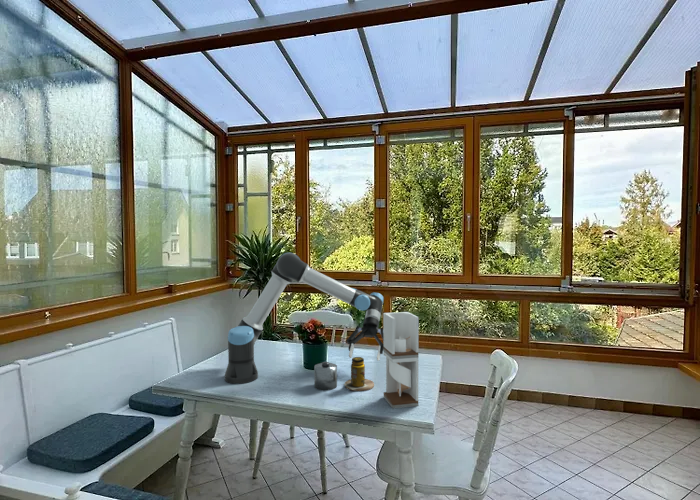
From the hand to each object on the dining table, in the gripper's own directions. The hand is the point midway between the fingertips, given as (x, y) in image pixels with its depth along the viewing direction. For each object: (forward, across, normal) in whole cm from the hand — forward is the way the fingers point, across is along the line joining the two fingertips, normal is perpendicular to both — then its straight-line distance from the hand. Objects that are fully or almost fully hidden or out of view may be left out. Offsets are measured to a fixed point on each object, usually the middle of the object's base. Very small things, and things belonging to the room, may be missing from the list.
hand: (363, 358), depth 191 cm
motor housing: (+18, +13, +4) cm, 23 cm away
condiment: (+16, 0, +4) cm, 16 cm away
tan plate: (+14, -1, +1) cm, 14 cm away
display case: (+22, -22, +10) cm, 33 cm away
